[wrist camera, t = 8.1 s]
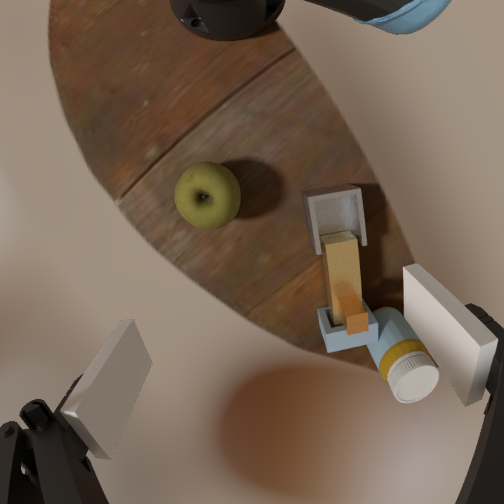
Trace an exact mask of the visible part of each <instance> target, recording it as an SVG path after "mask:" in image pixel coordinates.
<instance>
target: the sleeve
mask: <svg viewBox="0 0 504 504" xmlns="http://www.w3.org/2000/svg"><path fill="white" fill-rule="evenodd" d="M302 195H303V201H304V206H305V212H306V218H307V225H308V231H309V237H310V243H311V245H312V247H313V249H314V251H315V253H316V255H319V254H321V247H320V237H319V236H322V235H328V234H333V233H338V232H344V231H350V232H351V233H352V234H353V235H354V236H355V237H356V238H357V241H358V242H359V243H360V244H361V245H362V246H366V245H367V238H366V228H365V219H364V210H363V202H362V194H361V188H359V187H356V186H354V185H352V184H343V185H337V186H331V187H325V188H319V189H313V190H308V191H302Z"/></svg>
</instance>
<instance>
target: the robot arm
mask: <svg viewBox="0 0 504 504" xmlns="http://www.w3.org/2000/svg"><path fill="white" fill-rule="evenodd" d="M305 1H308V2H311V3H314V4H317V5H320V6H323V7H326V8H328V9H331V10H334V11H337V12H339V13H342V14H345V15H347V16H350V17H352V18H353V19H354V20H355V21H357V22H359V23H362V24H369V25H372V26H374V27H377V28H379V29H381V30H384V31H386V32H389V33H392V34H397V35H398V34H410V33H413V32H416V31H418V30H420V29H422V28H424V27H425V26H427V25H428V24H429V23H431V22H432V21H433V20H435V19H436V18H437V17H438V16H439V15H440V14H441V13H442V12H443V11H444V9H445V8H446V7H447V6H448V4H449V3H450V2H451V0H305ZM284 4H285V0H170V5H171V8H172V11H173V13H174V14H175V16H176V17H177V19H178V20H179V22H180V23H181V24H182V25H183V26H184V27H185V28H186V29H187V30H189V31H190V32H192V33H193V34H195V35H197V36H200V37H203V38H206V39H210V40H217V41H232V40H239V39H243V38H247V37H250V36H253V35H255V34H257V33H259V32H261V31H263V30H264V29H266V28H267V27H269V26H270V25H271V24H272V23H273V22H274V21H275V20H276V19H277V18H278V16H279V15H280V13H281V11H282V9H283V7H284ZM403 278H404V318H405V319H406V321H407V322H408V323H409V325H410V326H411V327H412V329H413V330H414V332H415V333H416V334H417V336H418V337H419V339H420V340H421V341H422V343H423V344H424V346H425V347H426V348H427V350H428V351H429V353H430V354H431V356H432V357H433V359H434V360H435V361H436V363H437V364H438V366H439V367H440V368H441V370H442V372H443V373H444V375H445V376H446V378H447V379H448V381H449V382H450V384H451V385H452V387H453V388H454V390H455V392H456V393H457V395H458V396H459V398H460V399H461V401H462V403H463V404H464V406H465V407H466V406H468V405H470V404H473V403H475V402H477V401H479V400H481V399H482V397H483V394H484V391H485V388H486V389H487V390H488V391H489V393H490V397H489V401H488V403H487V406H486V409H485V411H484V414H485V417H484V421H483V425H482V429H481V432H480V436H479V439H478V443H477V446H476V449H475V453H474V456H473V458H472V461H471V465H470V467H469V470H468V473H467V476H466V478H465V481H464V483H463V486H462V489H461V491H460V493H459V496H458V498H457V501H456V503H455V504H504V329H503V328H502V327H501V326H500V325H499V324H498V323H497V322H496V321H494V319H493V318H492V317H491V316H488V314H487V313H486V312H485V311H484V310H483V309H482V308H481V307H478V306H476V305H474V304H472V303H471V304H468V305H463V304H462V303H461V302H460V301H459V300H458V299H457V298H456V297H454V296H453V295H452V294H451V293H450V292H449V291H448V290H447V289H446V288H445V287H444V286H442V285H441V284H440V283H439V282H438V281H437V280H436V279H435V278H433V277H432V276H431V275H430V274H429V273H428V272H427V271H425V270H424V269H423V268H422V267H421V266H420V265H419V264H413V265H408V266H404V267H403ZM151 365H152V360H151V358H150V356H149V354H148V352H147V349H146V347H145V345H144V343H143V340H142V338H141V336H140V334H139V331H138V329H137V327H136V324H135V322H134V319H130V320H122V321H120V322H119V324H118V325H117V327H116V328H115V330H114V331H113V332H112V333H111V335H110V336H109V338H108V339H107V341H106V342H105V344H104V345H103V347H102V348H101V349H100V351H99V352H98V354H97V355H96V357H95V358H94V359H93V361H92V362H91V364H90V365H89V367H88V368H87V370H86V371H85V373H84V374H82V375H81V376H80V377H78V378H77V380H75V381H74V383H73V384H72V386H71V387H70V390H68V392H67V393H66V396H64V398H63V399H62V401H61V403H60V404H59V405H58V407H57V408H56V410H55V412H54V413H52V411H51V410H50V408H49V407H48V406H47V404H46V403H45V401H44V400H41V399H36V400H32V401H30V402H29V403H27V404H26V405H25V406H24V407H23V408H22V410H21V411H20V415H19V416H20V417H21V418H22V420H23V421H24V422H25V424H26V425H27V426H28V428H29V429H23V430H22V428H21V427H20V426H19V424H18V423H17V422H15V421H10V422H7V423H5V424H3V425H2V426H1V427H0V504H109V502H108V501H107V499H106V496H105V494H104V492H103V490H102V488H101V485H100V483H99V481H98V478H97V476H96V474H95V471H94V469H93V467H92V465H91V462H90V460H89V459H88V457H87V456H86V454H87V451H88V449H89V450H90V451H91V452H92V453H93V455H94V456H95V457H96V458H101V459H110V460H111V459H112V457H113V454H114V451H115V449H116V447H117V444H118V442H119V440H120V437H121V434H122V432H123V430H124V427H125V425H126V423H127V420H128V418H129V416H130V413H131V411H132V409H133V406H134V404H135V402H136V399H137V397H138V395H139V392H140V390H141V388H142V386H143V383H144V381H145V379H146V376H147V374H148V372H149V370H150V368H151ZM21 466H22V467H23V468H24V469H25V474H23V473H22V471H21Z"/></svg>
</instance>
